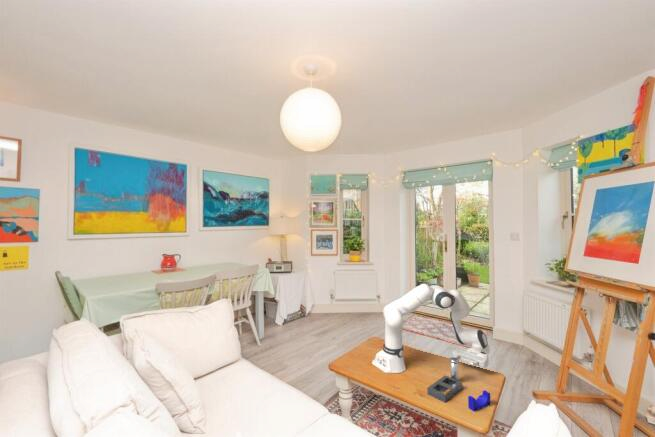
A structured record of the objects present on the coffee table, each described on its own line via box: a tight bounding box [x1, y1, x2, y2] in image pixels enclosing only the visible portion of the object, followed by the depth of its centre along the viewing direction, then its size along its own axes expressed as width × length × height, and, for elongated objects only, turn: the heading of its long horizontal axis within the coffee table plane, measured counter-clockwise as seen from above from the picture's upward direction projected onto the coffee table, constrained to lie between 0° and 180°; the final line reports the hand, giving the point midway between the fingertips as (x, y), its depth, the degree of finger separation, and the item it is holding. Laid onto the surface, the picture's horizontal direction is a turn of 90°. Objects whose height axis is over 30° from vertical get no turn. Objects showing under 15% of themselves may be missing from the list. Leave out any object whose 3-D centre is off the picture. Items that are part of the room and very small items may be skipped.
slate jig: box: [426, 375, 463, 403], centre depth 160 cm, size 10×19×4 cm, turn 130°
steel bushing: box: [448, 356, 460, 381], centre depth 169 cm, size 5×5×13 cm
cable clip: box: [467, 389, 492, 412], centre depth 147 cm, size 12×4×6 cm, turn 114°
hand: (463, 362), depth 177 cm, fingers open, 8 cm apart
